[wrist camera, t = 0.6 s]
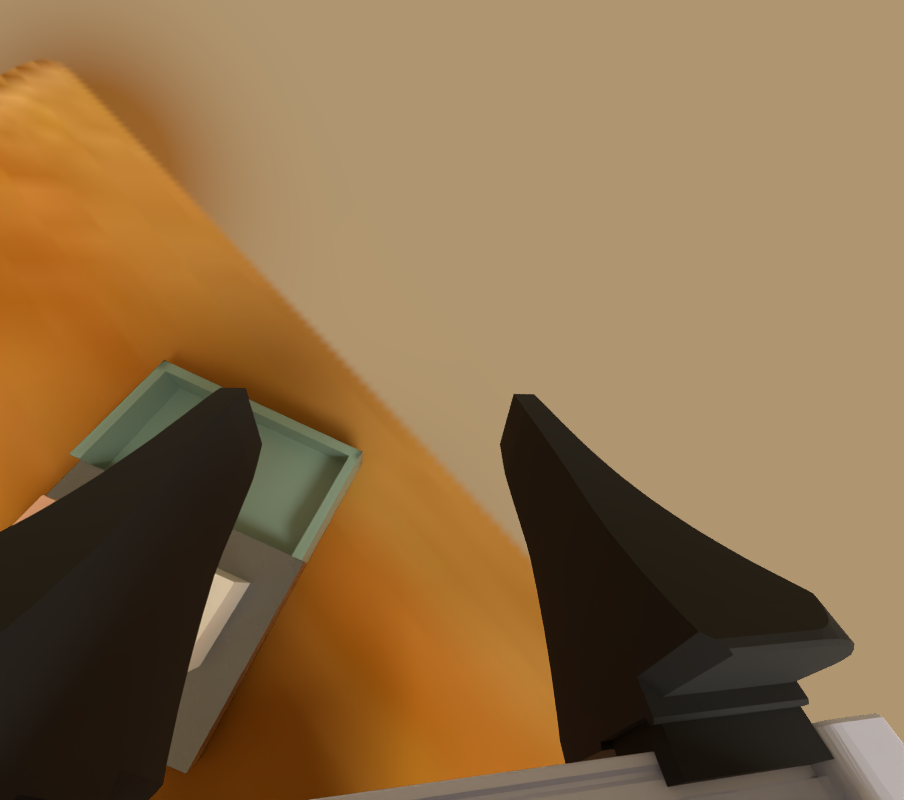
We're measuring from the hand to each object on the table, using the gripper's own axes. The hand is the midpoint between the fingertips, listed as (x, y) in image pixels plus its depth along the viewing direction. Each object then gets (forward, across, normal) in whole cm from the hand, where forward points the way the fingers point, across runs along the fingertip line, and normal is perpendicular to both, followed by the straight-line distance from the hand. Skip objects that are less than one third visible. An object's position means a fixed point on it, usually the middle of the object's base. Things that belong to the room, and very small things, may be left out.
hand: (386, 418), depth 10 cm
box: (+10, +10, +13) cm, 19 cm away
